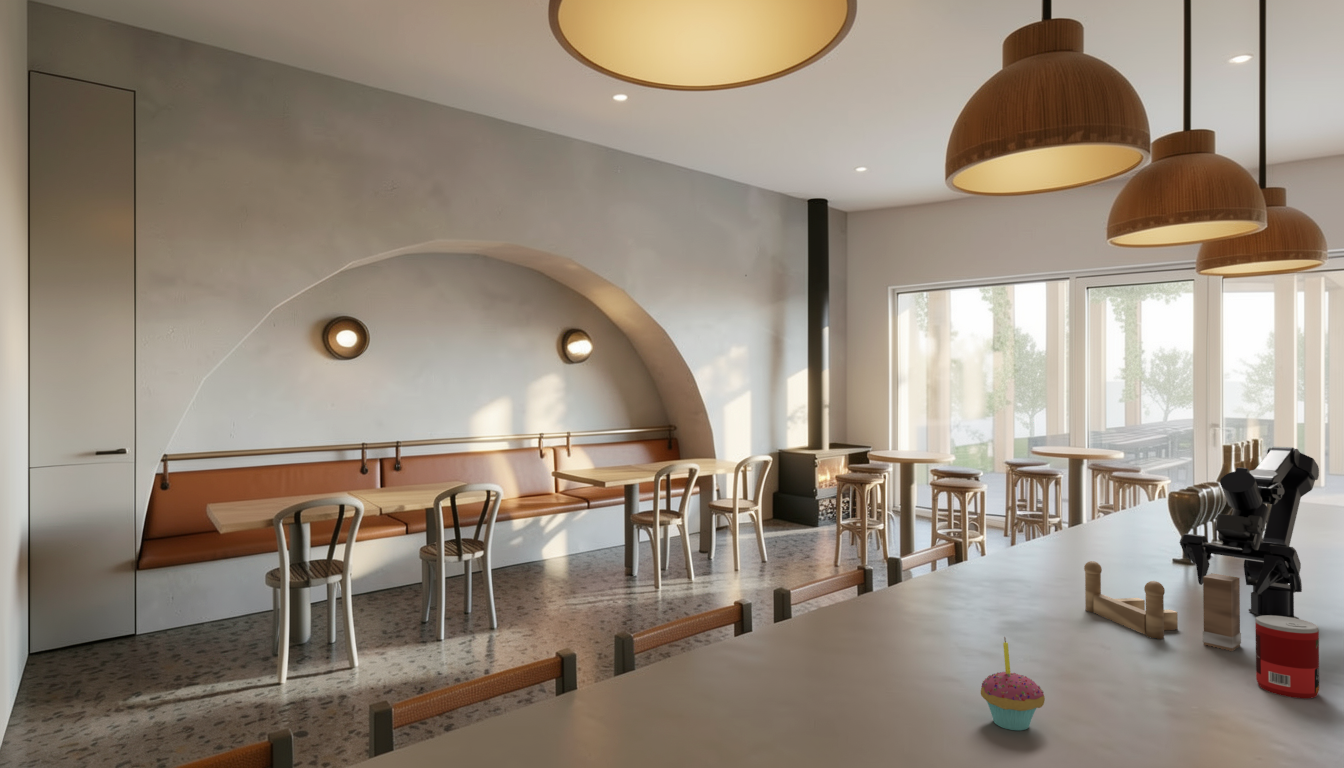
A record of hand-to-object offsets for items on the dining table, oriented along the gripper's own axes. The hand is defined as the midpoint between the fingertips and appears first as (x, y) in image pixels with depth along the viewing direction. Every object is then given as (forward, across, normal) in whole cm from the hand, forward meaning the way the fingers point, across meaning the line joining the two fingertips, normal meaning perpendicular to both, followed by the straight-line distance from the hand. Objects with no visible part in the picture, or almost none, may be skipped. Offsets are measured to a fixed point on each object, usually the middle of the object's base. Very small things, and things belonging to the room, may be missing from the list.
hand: (1227, 588), depth 148 cm
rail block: (+10, 0, +5) cm, 11 cm away
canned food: (+22, +14, -7) cm, 27 cm away
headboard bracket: (+8, -16, +7) cm, 19 cm away
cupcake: (+56, -6, -40) cm, 69 cm away
